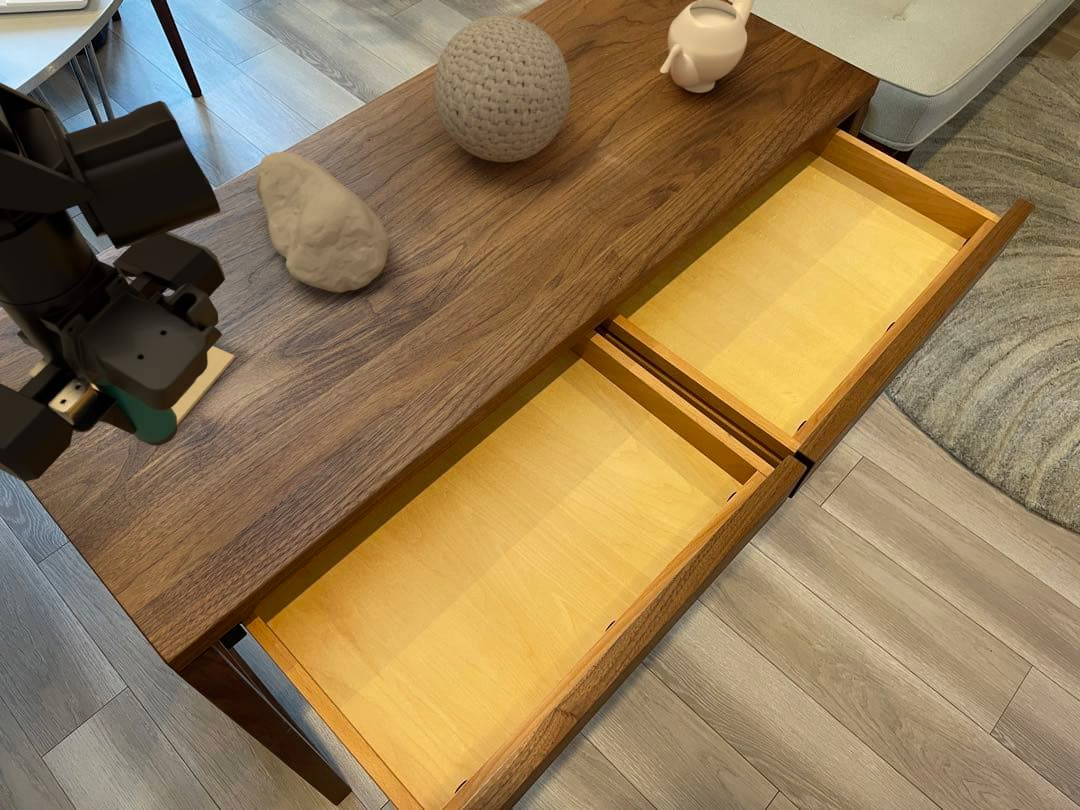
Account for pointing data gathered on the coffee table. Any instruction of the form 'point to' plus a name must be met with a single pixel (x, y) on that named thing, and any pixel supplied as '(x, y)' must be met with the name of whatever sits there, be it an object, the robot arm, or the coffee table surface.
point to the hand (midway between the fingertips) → (146, 412)
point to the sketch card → (201, 381)
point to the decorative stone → (320, 224)
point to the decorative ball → (502, 88)
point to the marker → (142, 415)
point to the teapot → (706, 42)
